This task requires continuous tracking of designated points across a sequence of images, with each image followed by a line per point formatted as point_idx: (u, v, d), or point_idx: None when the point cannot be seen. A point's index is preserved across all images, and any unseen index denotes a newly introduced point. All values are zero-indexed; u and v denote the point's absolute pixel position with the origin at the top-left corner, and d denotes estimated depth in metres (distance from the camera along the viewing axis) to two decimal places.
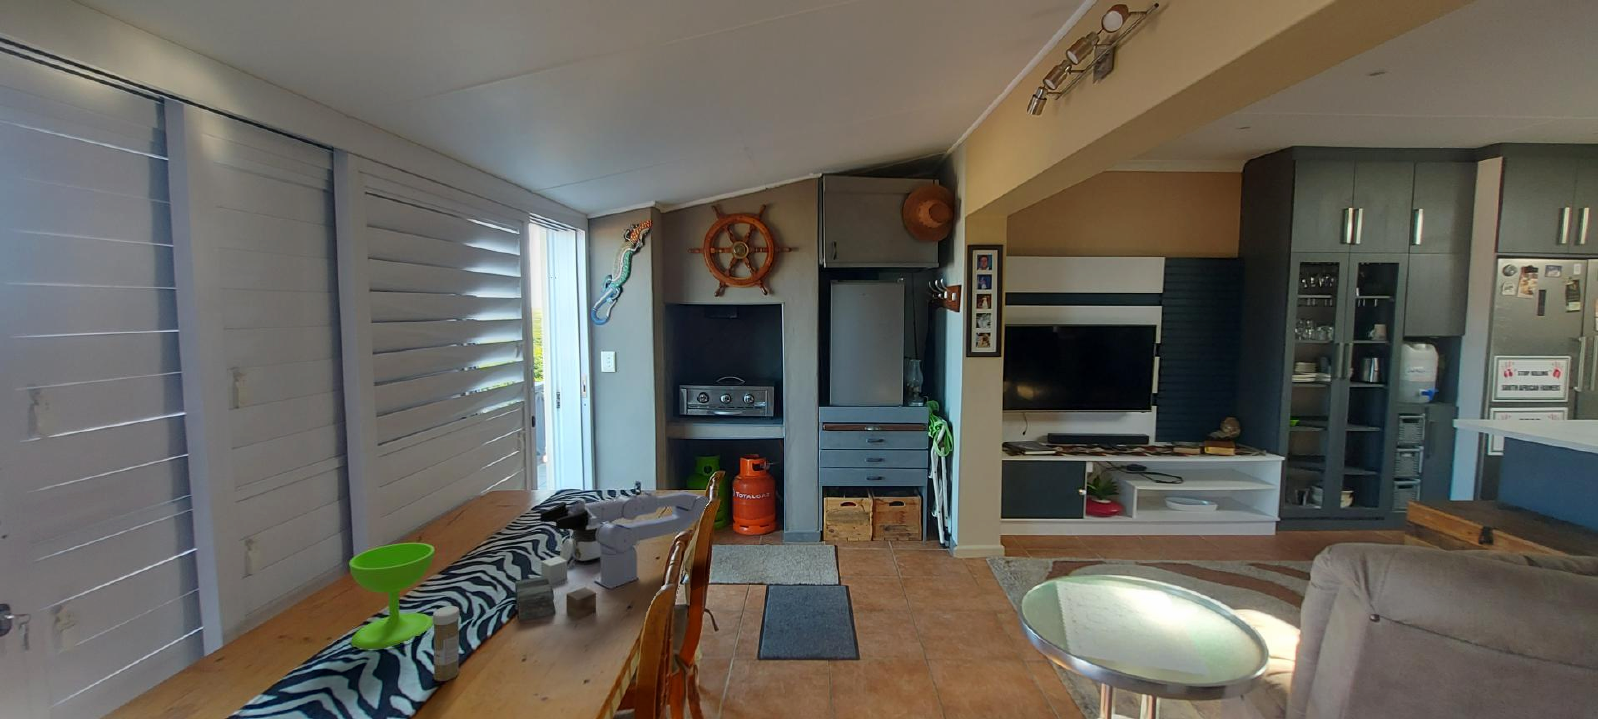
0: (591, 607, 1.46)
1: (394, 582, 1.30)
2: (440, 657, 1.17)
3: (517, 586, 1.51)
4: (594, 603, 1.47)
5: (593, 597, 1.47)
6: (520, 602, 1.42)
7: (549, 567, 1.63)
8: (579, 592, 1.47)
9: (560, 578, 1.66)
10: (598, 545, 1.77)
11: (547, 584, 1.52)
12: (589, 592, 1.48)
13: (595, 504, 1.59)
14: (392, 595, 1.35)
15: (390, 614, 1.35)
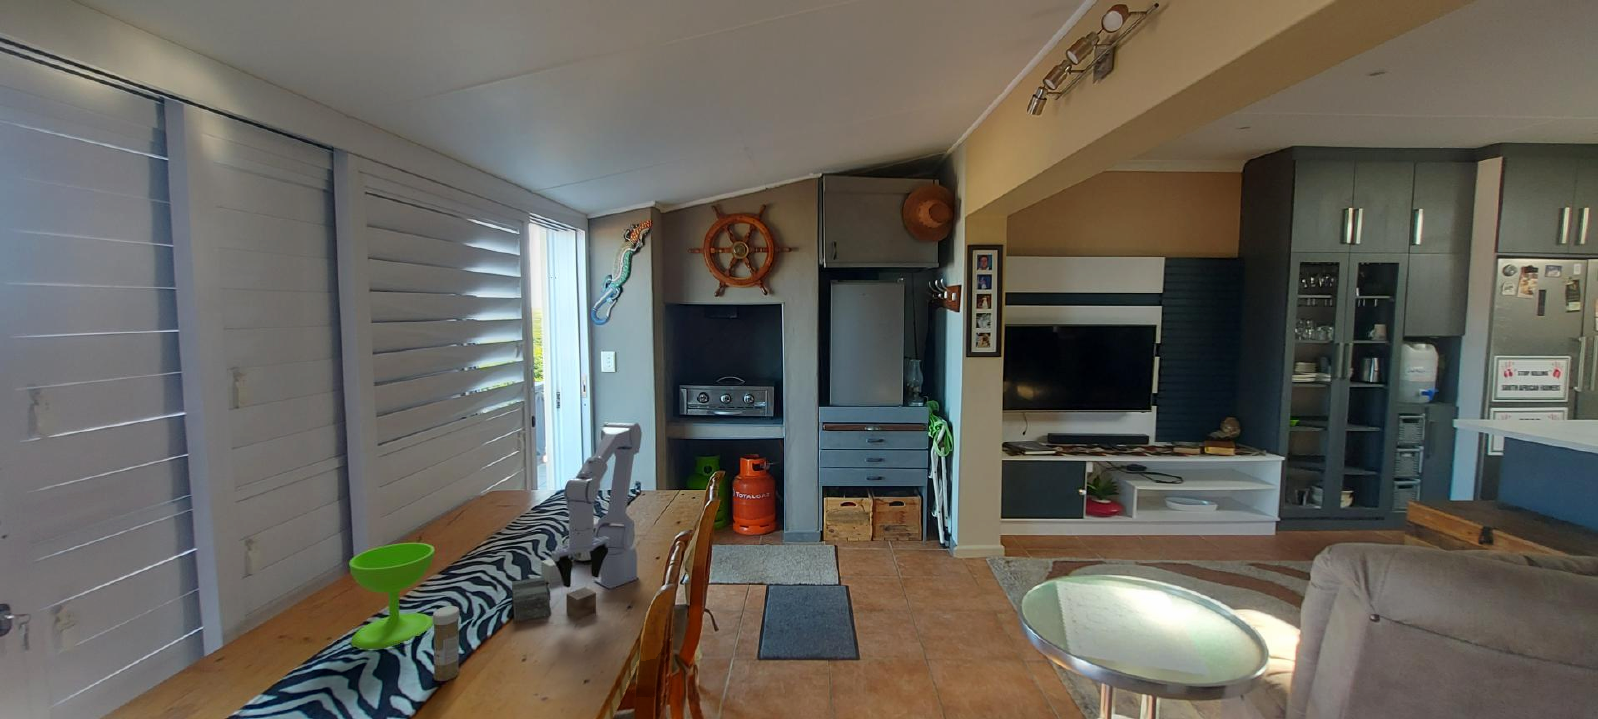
0: (590, 607, 1.46)
1: (394, 582, 1.30)
2: (440, 657, 1.17)
3: (514, 587, 1.50)
4: (594, 603, 1.47)
5: (593, 597, 1.47)
6: (515, 603, 1.41)
7: (549, 567, 1.63)
8: (579, 592, 1.47)
9: (560, 578, 1.66)
10: None
11: (543, 585, 1.52)
12: (589, 592, 1.48)
13: (591, 533, 1.45)
14: (392, 595, 1.35)
15: (390, 614, 1.35)
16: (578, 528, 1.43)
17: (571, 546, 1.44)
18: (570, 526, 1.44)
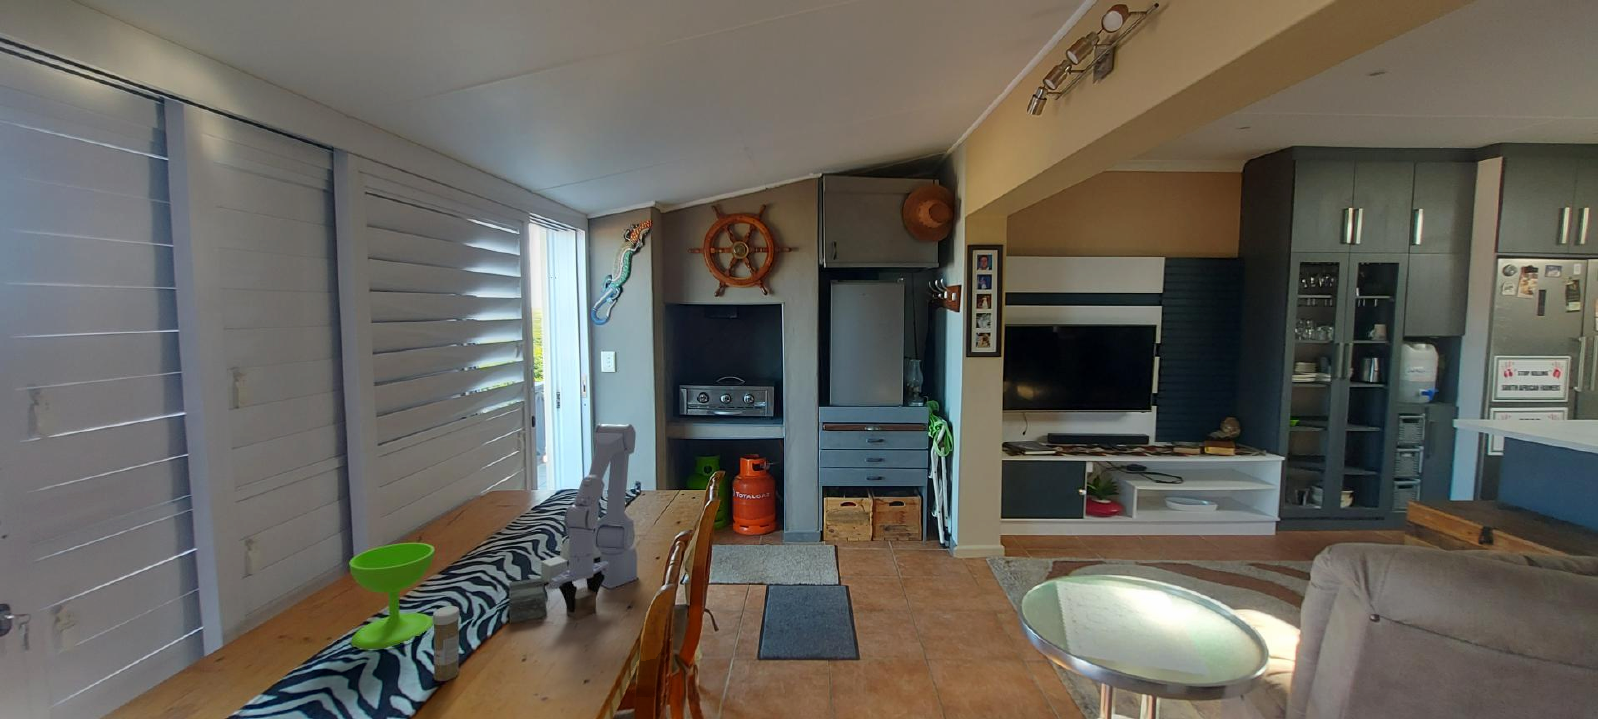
0: (590, 606, 1.46)
1: (394, 582, 1.30)
2: (440, 657, 1.17)
3: (510, 588, 1.50)
4: (594, 603, 1.47)
5: (593, 597, 1.47)
6: (510, 604, 1.41)
7: (549, 567, 1.63)
8: (579, 591, 1.47)
9: None
10: None
11: (540, 586, 1.51)
12: (589, 591, 1.48)
13: (591, 559, 1.46)
14: (392, 595, 1.35)
15: (390, 614, 1.35)
16: (578, 555, 1.43)
17: (571, 573, 1.44)
18: (570, 553, 1.44)
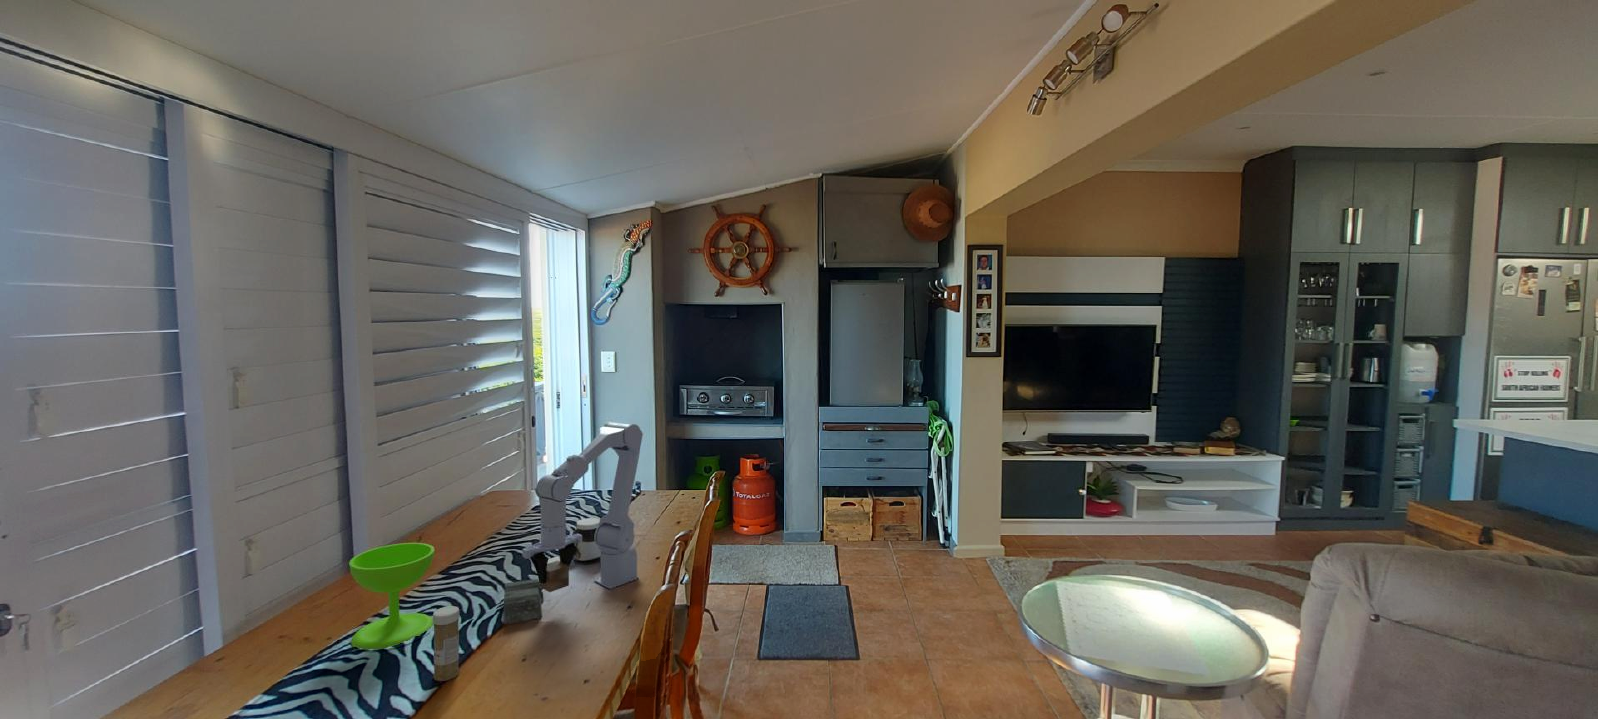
0: (563, 579, 1.46)
1: (394, 582, 1.30)
2: (440, 657, 1.17)
3: (506, 589, 1.49)
4: (567, 576, 1.47)
5: (566, 570, 1.46)
6: (505, 605, 1.40)
7: None
8: (552, 565, 1.47)
9: None
10: (598, 545, 1.77)
11: (535, 587, 1.50)
12: (562, 564, 1.47)
13: (563, 530, 1.45)
14: (392, 595, 1.35)
15: (390, 614, 1.35)
16: (546, 525, 1.43)
17: (543, 543, 1.44)
18: None
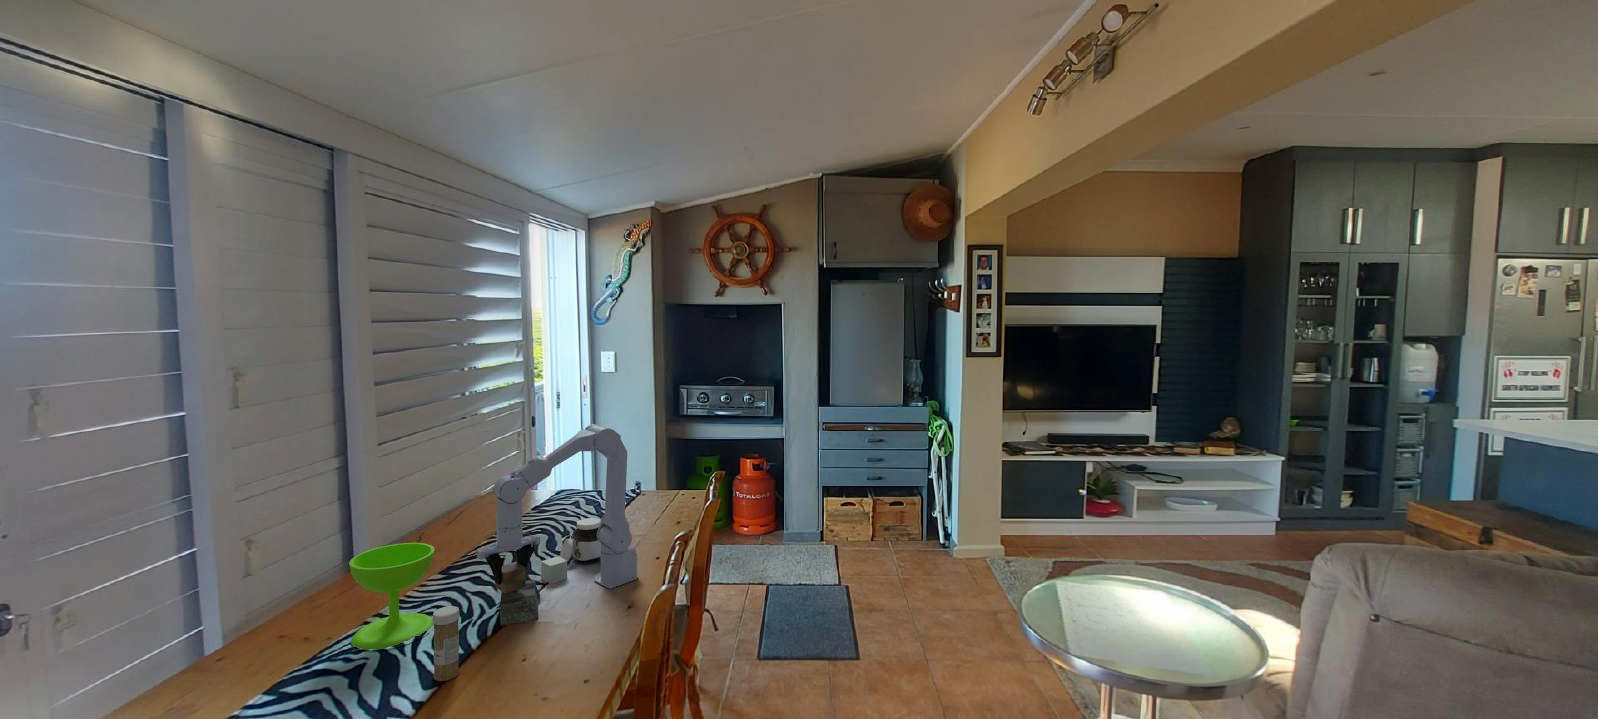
0: (520, 581, 1.46)
1: (394, 582, 1.30)
2: (440, 657, 1.17)
3: None
4: (523, 577, 1.47)
5: (522, 571, 1.46)
6: (501, 606, 1.40)
7: (549, 567, 1.63)
8: (508, 566, 1.47)
9: (560, 578, 1.66)
10: (598, 545, 1.77)
11: (532, 588, 1.50)
12: (519, 566, 1.47)
13: (518, 531, 1.45)
14: (392, 595, 1.35)
15: (390, 614, 1.35)
16: (498, 526, 1.44)
17: (498, 544, 1.44)
18: None
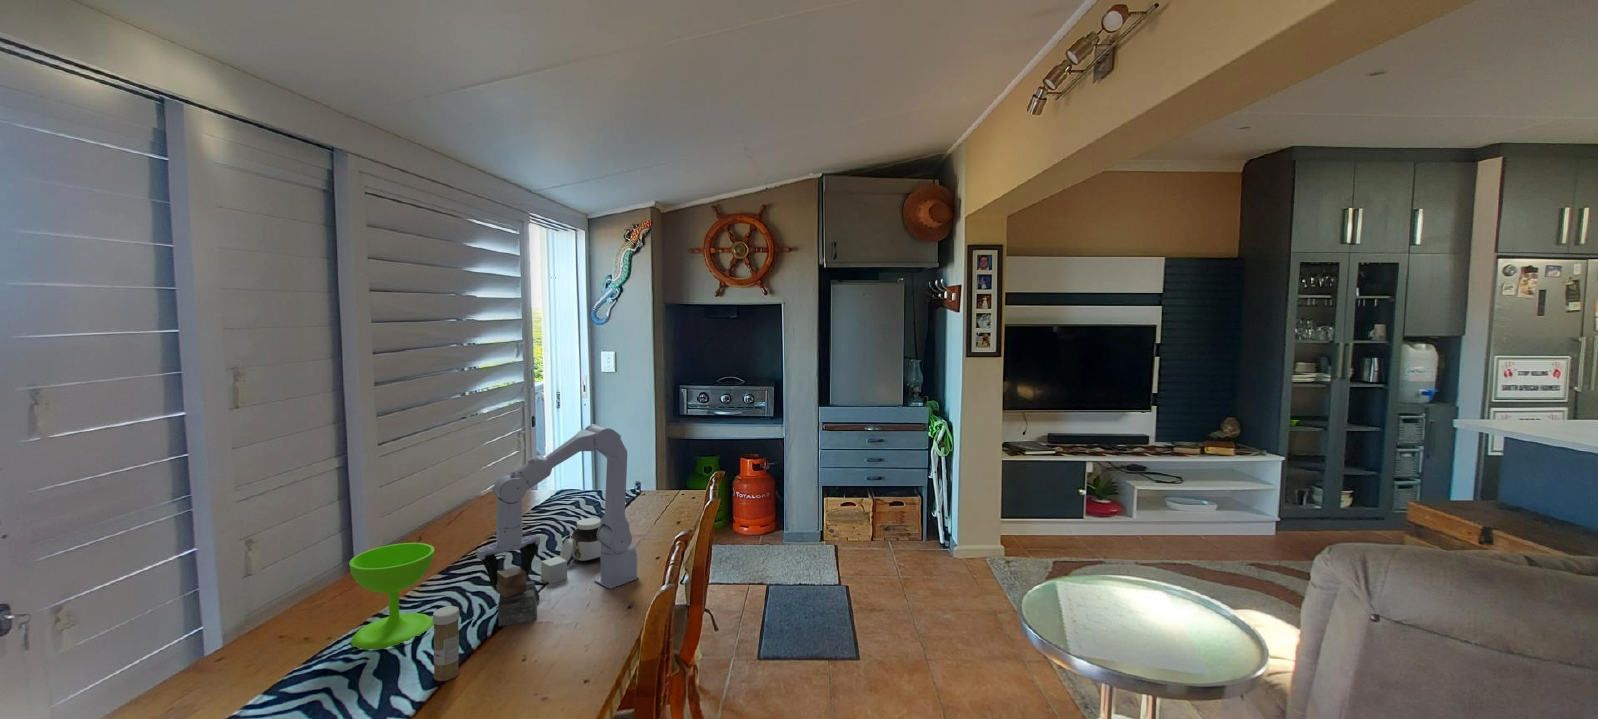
0: (520, 585, 1.46)
1: (394, 582, 1.30)
2: (440, 657, 1.17)
3: None
4: (524, 582, 1.47)
5: (523, 575, 1.46)
6: (499, 607, 1.39)
7: (549, 567, 1.63)
8: (509, 570, 1.47)
9: (560, 578, 1.66)
10: (598, 545, 1.77)
11: (531, 589, 1.49)
12: (520, 570, 1.47)
13: (518, 531, 1.45)
14: (392, 595, 1.35)
15: (390, 614, 1.35)
16: (498, 526, 1.44)
17: (498, 544, 1.44)
18: None
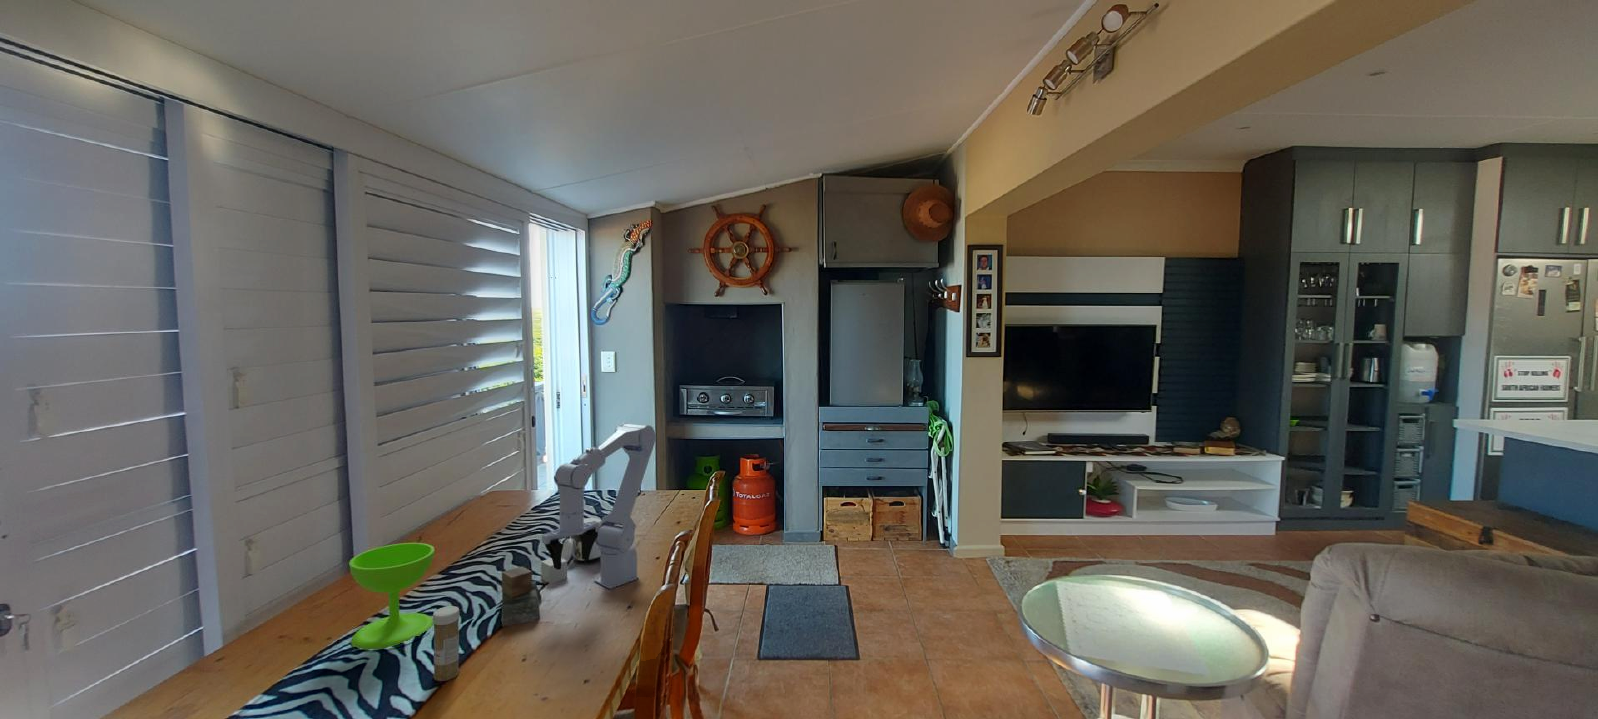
0: (526, 585, 1.46)
1: (394, 582, 1.30)
2: (440, 657, 1.17)
3: None
4: (530, 581, 1.47)
5: (529, 575, 1.47)
6: (503, 608, 1.39)
7: (549, 567, 1.63)
8: (515, 570, 1.47)
9: (560, 578, 1.66)
10: None
11: (533, 589, 1.49)
12: (525, 570, 1.48)
13: (581, 517, 1.50)
14: (392, 595, 1.35)
15: (390, 614, 1.35)
16: (565, 512, 1.48)
17: (561, 530, 1.48)
18: None
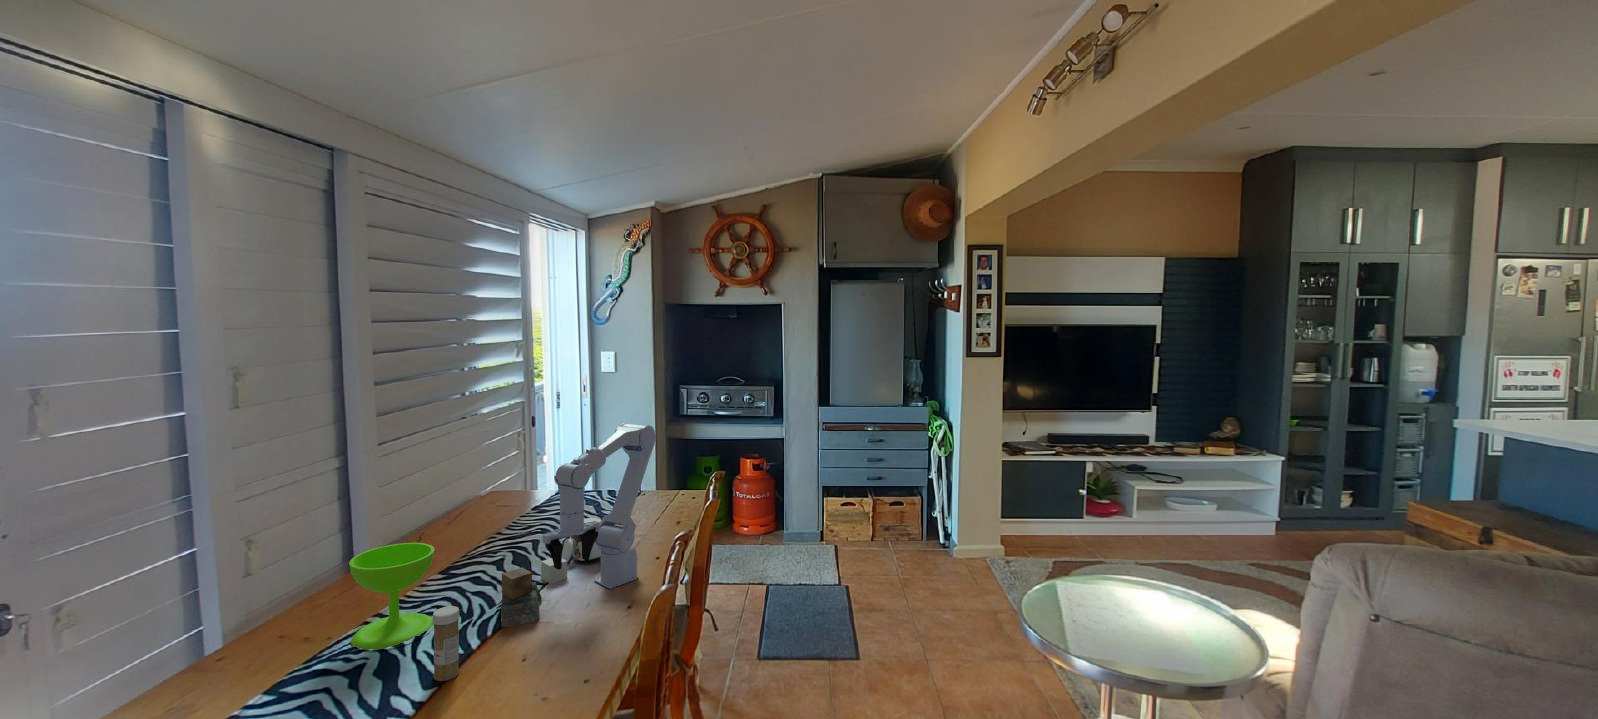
0: (526, 586, 1.46)
1: (394, 582, 1.30)
2: (440, 657, 1.17)
3: None
4: (530, 583, 1.46)
5: (529, 577, 1.46)
6: (502, 609, 1.39)
7: (549, 567, 1.63)
8: (515, 572, 1.47)
9: (560, 578, 1.66)
10: None
11: (533, 590, 1.49)
12: (525, 571, 1.47)
13: (581, 517, 1.50)
14: (392, 595, 1.35)
15: (390, 614, 1.35)
16: (565, 512, 1.48)
17: (562, 529, 1.48)
18: (560, 509, 1.49)
